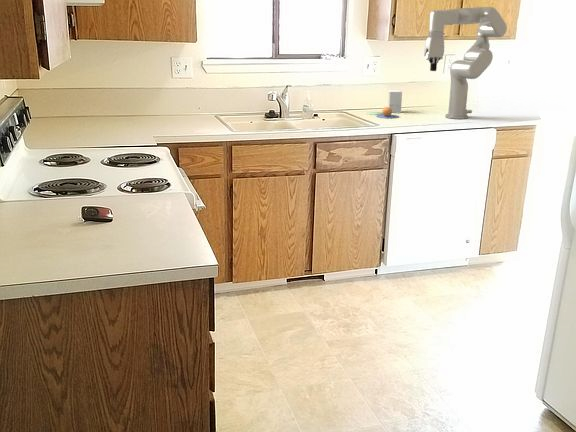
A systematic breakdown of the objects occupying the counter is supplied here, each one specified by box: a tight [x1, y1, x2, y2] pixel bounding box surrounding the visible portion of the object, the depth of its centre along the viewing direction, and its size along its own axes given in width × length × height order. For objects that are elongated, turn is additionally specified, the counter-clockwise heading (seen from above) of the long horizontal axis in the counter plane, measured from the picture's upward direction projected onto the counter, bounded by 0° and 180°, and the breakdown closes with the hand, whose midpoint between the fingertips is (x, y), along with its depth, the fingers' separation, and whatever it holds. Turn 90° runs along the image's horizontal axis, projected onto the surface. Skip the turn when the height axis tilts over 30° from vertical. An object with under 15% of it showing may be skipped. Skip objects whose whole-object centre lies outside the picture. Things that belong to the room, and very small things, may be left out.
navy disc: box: [375, 114, 400, 119], centre depth 345 cm, size 13×13×1 cm
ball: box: [381, 106, 393, 116], centre depth 344 cm, size 6×6×6 cm
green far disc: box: [367, 111, 382, 116], centre depth 355 cm, size 10×10×1 cm
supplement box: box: [387, 89, 403, 114], centre depth 359 cm, size 7×7×13 cm
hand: (433, 70), depth 322 cm, fingers closed
